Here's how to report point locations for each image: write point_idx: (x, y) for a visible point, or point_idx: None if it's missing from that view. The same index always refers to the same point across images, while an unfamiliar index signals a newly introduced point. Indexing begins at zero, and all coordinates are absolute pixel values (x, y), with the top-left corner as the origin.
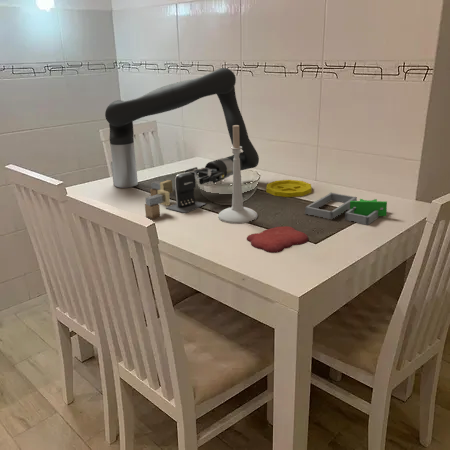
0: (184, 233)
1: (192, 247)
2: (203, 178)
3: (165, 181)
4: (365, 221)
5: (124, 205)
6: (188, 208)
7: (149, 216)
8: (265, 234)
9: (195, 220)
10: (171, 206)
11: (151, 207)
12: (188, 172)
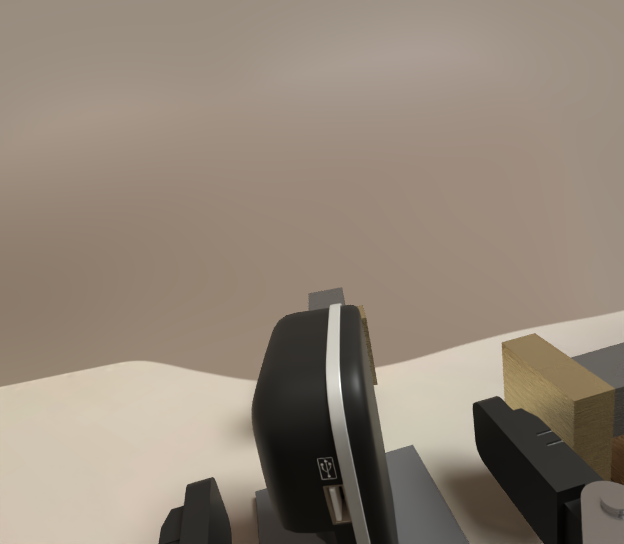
0: (101, 410)
1: (20, 393)
2: (187, 531)
3: (556, 361)
4: None
5: (581, 337)
6: (294, 542)
7: None
8: None
9: (133, 494)
10: (410, 475)
11: None
12: (329, 366)
